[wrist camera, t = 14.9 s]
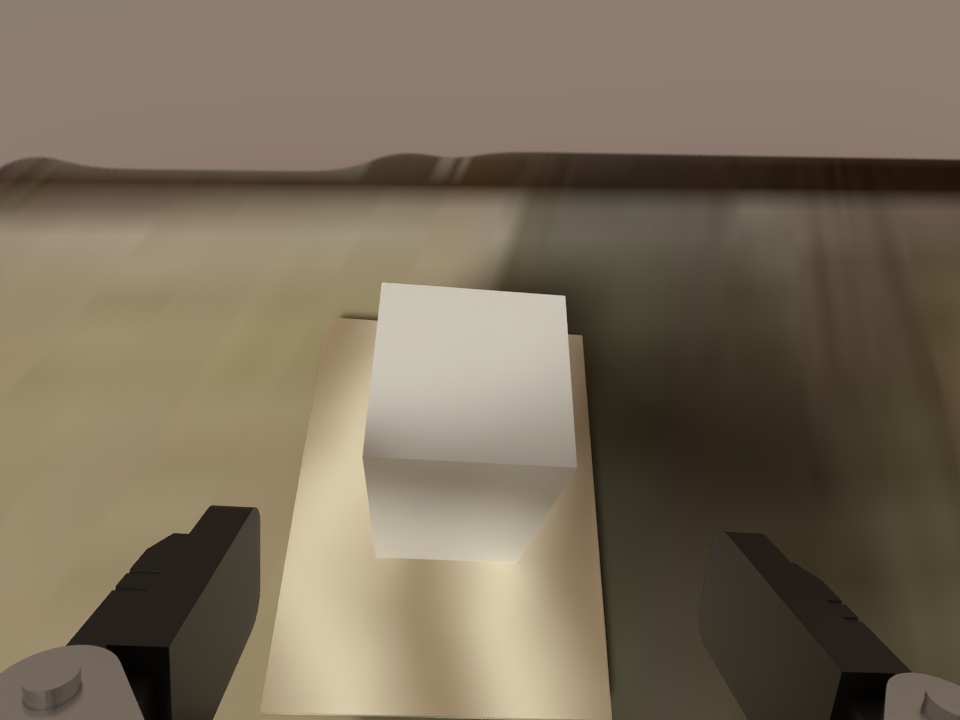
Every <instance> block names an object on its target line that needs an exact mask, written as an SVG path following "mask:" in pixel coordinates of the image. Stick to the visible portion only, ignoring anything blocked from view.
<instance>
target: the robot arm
mask: <svg viewBox="0 0 960 720" xmlns="http://www.w3.org/2000/svg"><path fill="white" fill-rule="evenodd" d="M259 597H260V515H259V511H258V509H257V508H256V507H235V506H215V505H212V506H210V507H209V508H208V509H207V511H206V512H205V513H204V515H203V516H202V517H201V519H200V520H199V521H198V523H197V524H196V525H195V527H194V528H193V529H192V531H191V532H190V533H189V534H178V533H173V534H172V535H170V536H168V537H167V538H165V539H163V540H162V541H160V542H158V543H157V544H155V545H153V546H152V547H150V548H148V549H147V550H146V551H145V552H144V553H143V554H142V556H141V557H140V558H139V559H138V560H137V561H136V563H135V564H134V565H133V566H132V567H131V569H130V572H129V573H126V575H125V576H124V577H123V578H122V579H121V581H120V582H119V583H118V584H117V585H116V589H115V590H112V591H111V593H110V594H109V595H108V596H107V597H106V599H105V600H104V601H103V602H102V603H101V605H100V606H99V607H98V608H97V609H96V610H95V612H94V613H93V614H92V615H91V616H90V618H89V619H88V620H87V621H86V622H85V624H84V625H83V626H82V627H81V628H80V630H79V631H78V632H77V633H76V634H75V636H74V637H73V638H72V639H71V640H70V642H69V643H68V644H67V645H66V646H63V647H58V648H53V649H50V650H46V651H43V652H40V653H37V654H35V655H32V656H30V657H28V658H25V659H23V660H21V661H19V662H17V663H16V664H14V665H12V666H10V667H9V668H7V669H6V670H5V671H3V672H2V673H0V720H213V718H214V715H215V713H216V711H217V709H218V706H219V704H220V702H221V699H222V697H223V695H224V693H225V690H226V688H227V686H228V684H229V681H230V679H231V677H232V674H233V672H234V670H235V668H236V665H237V663H238V661H239V658H240V656H241V654H242V652H243V649H244V647H245V645H246V643H247V640H248V638H249V636H250V633H251V631H252V629H253V626H254V623H255V619H256V615H257V611H258V605H259ZM699 626H700V632H701V636H702V640H703V642H704V645H705V647H706V649H707V650H708V652H709V654H710V656H711V657H712V659H713V661H714V663H715V664H716V666H717V668H718V669H719V671H720V673H721V675H722V676H723V678H724V680H725V681H726V683H727V685H728V687H729V688H730V690H731V692H732V694H733V695H734V697H735V699H736V700H737V702H738V704H739V706H740V707H741V709H742V711H743V713H744V714H745V716H746V718H747V719H748V720H960V686H958V685H956V684H954V683H951V682H949V681H946V680H943V679H940V678H938V677H934V676H930V675H926V674H920V673H912V672H911V671H910V670H909V669H908V668H907V667H906V666H905V665H904V664H903V663H902V662H901V661H900V660H899V659H898V658H897V657H896V656H895V655H894V654H893V653H892V652H891V651H890V650H889V649H888V648H887V647H886V646H885V645H884V643H883V642H882V641H881V640H880V639H879V638H878V637H877V636H876V635H875V634H874V633H873V632H872V631H871V630H870V629H869V628H868V627H867V626H866V625H865V624H864V623H863V622H859V621H858V617H857V616H856V615H855V614H854V613H853V612H852V611H851V610H850V609H849V608H848V607H847V606H846V605H842V603H841V600H840V599H839V598H838V597H837V596H836V595H835V594H834V593H833V592H832V591H831V589H830V588H829V587H828V586H827V585H826V584H825V583H824V582H823V581H822V580H820V579H818V578H817V577H815V576H814V575H812V574H810V573H809V572H807V571H806V570H804V569H802V568H801V567H799V566H798V565H796V564H794V563H791V562H790V561H789V560H788V559H787V558H786V557H785V556H784V555H783V554H782V553H781V552H780V551H779V550H778V548H777V547H776V546H775V545H774V544H773V543H772V542H771V541H770V540H769V539H768V538H767V537H766V536H765V535H763V534H758V533H738V532H719V533H717V534H716V535H715V537H714V539H713V541H712V545H711V550H710V555H709V560H708V566H707V571H706V576H705V582H704V587H703V592H702V597H701V603H700V608H699Z"/></svg>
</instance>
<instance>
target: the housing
mask: <svg viewBox="0 0 960 720" xmlns="http://www.w3.org/2000/svg"><path fill="white" fill-rule="evenodd" d="M362 458H363V465H364V473H365V480H366V488H367V495H368V502H369V510H370V517H371V525H372V532H373V539H374V547H375V554H376V557H377V558H403V559H430V560H456V561H482V562H508V563H517V562H518V560H519V559H520V557H521V556H522V554H523V552H524V551H525V549H526V548H527V546H528V544H529V543H530V541H531V540H532V538H533V537H534V535H535V533H536V532H537V530H538V529H539V527H540V525H541V524H542V522H543V521H544V519H545V518H546V516H547V514H548V513H549V511H550V510H551V508H552V506H553V505H554V503H555V502H556V500H557V499H558V497H559V495H560V494H561V492H562V491H563V489H564V487H565V486H566V484H567V483H568V481H569V480H570V478H571V476H572V475H573V473H574V472H575V470H576V468H577V459H576V445H575V430H574V416H573V401H572V387H571V372H570V358H569V343H568V329H567V314H566V300H565V296H560V295H546V294H532V293H519V292H505V291H492V290H478V289H464V288H451V287H437V286H423V285H410V284H396V283H382V287H381V296H380V305H379V314H378V323H377V331H376V340H375V349H374V358H373V367H372V375H371V384H370V393H369V402H368V411H367V419H366V428H365V437H364V446H363V455H362Z"/></svg>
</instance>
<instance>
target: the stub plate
mask: <svg viewBox="0 0 960 720" xmlns="http://www.w3.org/2000/svg"><path fill="white" fill-rule="evenodd" d="M377 323H378V321H375V320H361V319H347V318H333V317H327V318H326V324H325V330H324V335H323V341H322V347H321V353H320V359H319V365H318V371H317V377H316V383H315V389H314V395H313V401H312V407H311V413H310V418H309V424H308V430H307V436H306V442H305V448H304V454H303V460H302V466H301V472H300V478H299V484H298V490H297V496H296V502H295V507H294V513H293V519H292V525H291V531H290V537H289V543H288V549H287V555H286V561H285V567H284V573H283V579H282V585H281V590H280V596H279V602H278V608H277V614H276V620H275V626H274V632H273V638H272V644H271V650H270V656H269V662H268V668H267V674H266V679H265V685H264V691H263V697H262V703H261V709H260V712H262V713H266V714H293V715H337V716H380V717H424V718H468V719H511V720H612V714H611V701H610V688H609V675H608V662H607V649H606V636H605V623H604V610H603V597H602V585H601V572H600V559H599V546H598V533H597V520H596V507H595V494H594V481H593V468H592V455H591V443H590V430H589V417H588V404H587V391H586V378H585V365H584V352H583V339H582V335H570V334H568V343H569V358H570V372H571V387H572V401H573V416H574V430H575V445H576V459H577V468H576V470H575V472H574V473H573V475H572V476H571V478H570V480H569V481H568V483H567V484H566V486H565V487H564V489H563V491H562V492H561V494H560V495H559V497H558V499H557V500H556V502H555V503H554V505H553V506H552V508H551V510H550V511H549V513H548V514H547V516H546V518H545V519H544V521H543V522H542V524H541V525H540V527H539V529H538V530H537V532H536V533H535V535H534V537H533V538H532V540H531V541H530V543H529V544H528V546H527V548H526V549H525V551H524V552H523V554H522V556H521V557H520V559H519V560H518V562H517V563H508V562H482V561H456V560H430V559H403V558H377V557H376V554H375V547H374V539H373V532H372V525H371V517H370V510H369V502H368V495H367V488H366V480H365V473H364V465H363V458H362V455H363V446H364V437H365V428H366V419H367V411H368V402H369V393H370V384H371V375H372V367H373V358H374V349H375V340H376V331H377Z"/></svg>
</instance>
